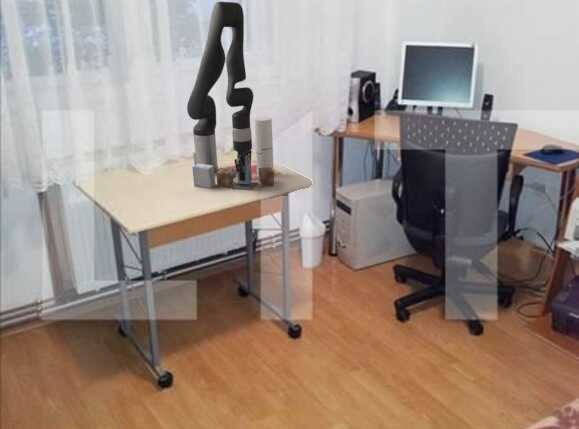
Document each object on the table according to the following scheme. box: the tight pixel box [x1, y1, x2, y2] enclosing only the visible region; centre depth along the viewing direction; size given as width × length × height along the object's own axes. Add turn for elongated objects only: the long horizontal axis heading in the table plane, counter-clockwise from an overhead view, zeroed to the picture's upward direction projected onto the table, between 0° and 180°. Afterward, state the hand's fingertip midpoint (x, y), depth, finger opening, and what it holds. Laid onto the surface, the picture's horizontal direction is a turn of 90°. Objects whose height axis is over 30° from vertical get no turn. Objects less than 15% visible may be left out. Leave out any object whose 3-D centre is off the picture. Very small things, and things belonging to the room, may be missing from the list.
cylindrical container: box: [253, 115, 275, 178], centre depth 270 cm, size 7×7×25 cm
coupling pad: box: [232, 181, 258, 191], centre depth 264 cm, size 8×8×1 cm
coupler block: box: [236, 161, 253, 184], centre depth 261 cm, size 4×4×8 cm
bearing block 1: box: [215, 167, 237, 188], centre depth 264 cm, size 7×6×6 cm
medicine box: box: [191, 164, 217, 189], centre depth 264 cm, size 8×4×9 cm, turn 65°
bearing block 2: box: [258, 167, 275, 188], centre depth 264 cm, size 6×6×6 cm
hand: (244, 178), depth 262 cm, fingers closed on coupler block, 4 cm apart
